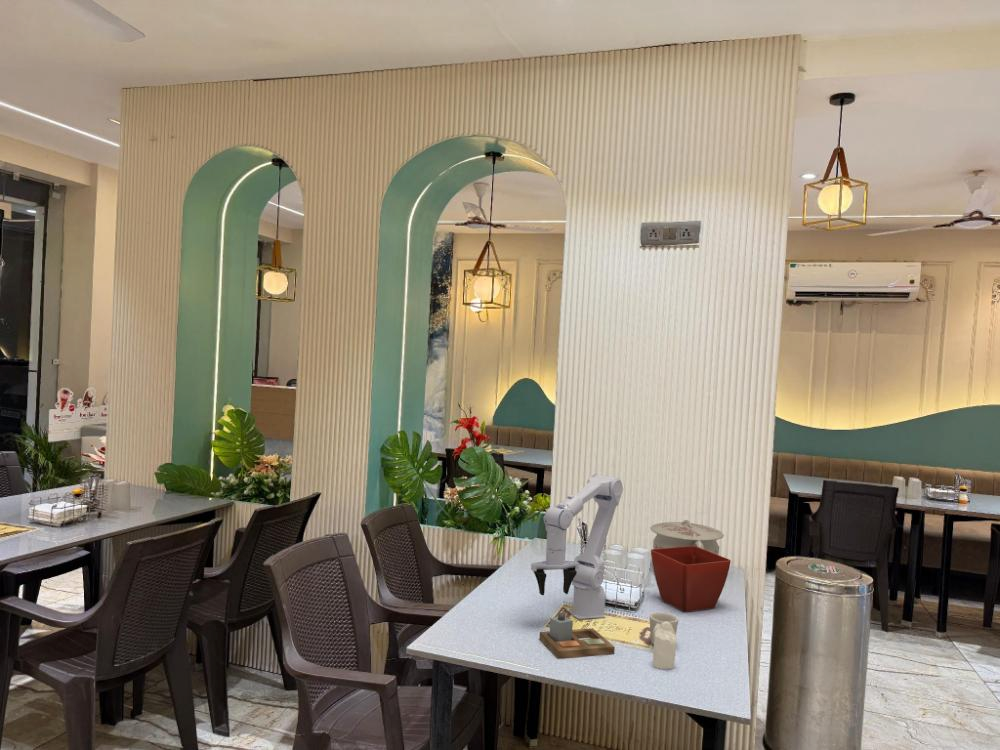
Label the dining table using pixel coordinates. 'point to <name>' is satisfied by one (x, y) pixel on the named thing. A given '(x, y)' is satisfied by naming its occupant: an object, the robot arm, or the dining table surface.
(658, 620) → the cup
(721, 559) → the plant pot
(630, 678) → the dining table surface
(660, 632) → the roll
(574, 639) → the socket board
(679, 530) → the chamber pot
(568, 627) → the plug
